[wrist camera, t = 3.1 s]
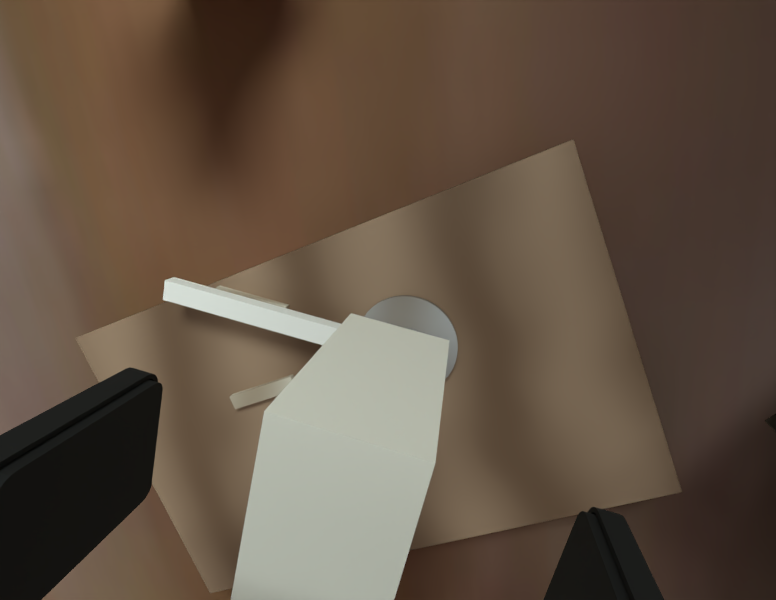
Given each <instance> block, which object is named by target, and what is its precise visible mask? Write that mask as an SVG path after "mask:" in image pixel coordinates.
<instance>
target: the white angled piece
mask: <svg viewBox="0 0 776 600" xmlns="http://www.w3.org/2000/svg"><path fill="white" fill-rule="evenodd" d="M163 300H166V301H169V302H173V303H176V304H180V305H183V306H187V307H190V308H194V309H197V310H201V311H204V312H208V313H211V314H215V315H218V316H222V317H225V318H229V319H232V320H236V321H239V322H243V323H246V324H250V325H253V326H257V327H260V328H264V329H267V330H271V331H274V332H278V333H281V334H285V335H288V336H292V337H295V338H299V339H302V340H306V341H309V342H313V343H317V344H320V345H322V347H321V348H320V349H319V350H318V351H317V352H316V353H315V354H314V356H313V357H312V358H311V359H310V360H309V361H308V362H307V363H306V365H305V366H304V367H303V368H302V369H301V370H300V371H299V372H298V374H297V375H296V376H295V377H294V378H293V379H292V380H291V381H290V383H289V384H288V385H287V386H286V387H285V388H284V389H283V390H282V392H281V393H280V394H279V395H278V396H277V397H276V398H275V399H274V401H273V402H272V403H271V404H270V405H269V406H268V407H267V408H266V410H265V411H264V415H263V421H262V426H261V432H260V438H259V443H258V449H257V454H256V460H255V466H254V471H253V477H252V483H251V488H250V494H249V499H248V505H247V511H246V516H245V522H244V527H243V533H242V539H241V544H240V550H239V556H238V561H237V567H236V572H235V578H234V584H233V589H232V595H231V600H394V599H395V596H396V592H397V589H398V586H399V582H400V579H401V576H402V572H403V569H404V566H405V563H406V559H407V556H408V553H409V549H410V546H411V543H412V539H413V536H414V533H415V529H416V526H417V523H418V519H419V516H420V513H421V509H422V506H423V503H424V499H425V496H426V493H427V489H428V486H429V483H430V480H431V476H432V473H433V470H434V466H435V463H436V454H437V445H438V437H439V428H440V419H441V411H442V402H443V393H444V384H445V376H446V367H447V358H448V349H449V341H450V340H446V339H443V338H439V337H435V336H432V335H428V334H425V333H421V332H417V331H416V330H414V329H411V328H407V327H399V326H396V325H392V324H388V323H385V322H381V321H377V320H374V319H370V318H367V317H363V316H359V315H356V314H352V313H351V314H350V315H349V316H348V317H347V318H346V319H345V321H344V322H343V323H342V324H340V323H337V322H333V321H330V320H326V319H322V318H319V317H315V316H312V315H308V314H304V313H301V312H297V311H294V310H290V309H287V308H283V307H279V306H276V305H272V304H269V303H265V302H261V301H258V300H254V299H251V298H247V297H244V296H240V295H236V294H233V293H229V292H226V291H222V290H218V289H215V288H211V287H208V286H204V285H201V284H197V283H193V282H190V281H186V280H183V279H179V278H175V277H173V278H170V279H167V280H165V285H164V294H163Z"/></svg>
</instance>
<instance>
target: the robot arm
mask: <svg viewBox="0 0 776 600" xmlns="http://www.w3.org/2000/svg"><path fill="white" fill-rule="evenodd" d="M162 392H163V387H162V384H161V383H159V382H158V379H157V376H156V375H155V374H152V373H149V372H145V371H142V370H139V369H135V368H131V367H129V368H126V369H124V370H122V371H120V372H119V373H117V374H115V375H113V376H111V377H109V378H107V379H105V380H104V381H102V382H100V383H98V384H96V385H94V386H92V387H90V388H88V389H87V390H85V391H83V392H81V393H79V394H77V395H75V396H73V397H72V398H70V399H68V400H66V401H64V402H62V403H60V404H58V405H56V406H55V407H53V408H51V409H49V410H47V411H45V412H43V413H41V414H40V415H38V416H36V417H34V418H32V419H30V420H28V421H26V422H24V423H23V424H21V425H19V426H17V427H15V428H13V429H11V430H9V431H8V432H6V433H4V434H2V435H0V600H41V599H42V598H43V597H44V596H45V595H46V594H48V593H49V592H50V591H51V590H52V589H53V588H54V587H55V586H56V585H57V584H58V583H59V582H60V581H61V580H62V579H63V578H64V577H65V576H66V575H67V574H68V573H69V572H70V571H71V570H72V569H73V568H74V567H75V566H76V565H77V564H78V563H80V562H81V561H82V560H83V559H84V558H85V557H86V556H87V555H88V554H89V553H90V552H91V551H92V550H93V549H94V548H95V547H96V546H97V545H98V544H99V543H100V542H101V541H102V540H103V539H104V538H105V537H106V536H107V535H108V534H109V533H110V532H111V531H113V530H114V529H115V528H116V527H117V526H118V525H119V524H120V523H121V522H122V521H123V520H124V519H125V518H126V517H127V516H128V515H129V514H130V513H131V512H132V511H133V510H134V509H135V508H136V507H137V506H138V505H139V504H140V503H141V502H142V501H143V500H144V499H145V498H146V496H147V494H148V493H149V490H150V488H151V484H152V477H153V468H154V460H155V451H156V443H157V434H158V426H159V418H160V409H161V401H162ZM544 600H664V599H663V597H662V594H661V592H660V590H659V588H658V586H657V584H656V582H655V580H654V578H653V576H652V574H651V572H650V570H649V568H648V565H647V563H646V561H645V559H644V557H643V555H642V553H641V551H640V549H639V547H638V545H637V543H636V541H635V539H634V536H633V534H632V532H631V530H630V528H629V526H628V524H627V522H626V520H625V518H624V517H623V516H622V515H620V514H616V513H613V512H610V511H606V510H603V509H600V508H596V507H591V508H590V509H589V510H588V512H585V511H581V512H580V513H579V514H578V516H577V518H576V521H575V523H574V526H573V528H572V531H571V533H570V536H569V538H568V541H567V543H566V546H565V548H564V550H563V553H562V555H561V558H560V560H559V563H558V565H557V568H556V570H555V573H554V575H553V578H552V580H551V583H550V585H549V588H548V590H547V592H546V595H545V597H544Z"/></svg>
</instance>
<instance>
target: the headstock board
mask: <svg viewBox="0 0 776 600" xmlns="http://www.w3.org/2000/svg"><path fill="white" fill-rule="evenodd" d="M207 286H208V287H211V288H215V289H218V290H222V291H226V292H229V293H233V294H236V295H240V296H244V297H247V298H251V299H254V300H258V301H261V302H265V303H269V304H272V305H276V306H279V307H283V308H287V309H290V310H294V311H297V312H301V313H304V314H308V315H312V316H315V317H319V318H322V319H326V320H330V321H333V322H337V323H340V324H342V323H343V322H344V321H345V319H346V318H347V317H348V316H349V315H350V314H351V313H352V314H356V315H359V316H363V317H367V318H370V319H374V320H377V321H381V322H385V323H388V324H392V325H396V326H399V327H407V328H411V329H414V330H416V331H417V332H421V333H425V334H428V335H432V336H435V337H439V338H443V339H446V340H450V341H449V349H448V358H447V367H446V376H445V384H444V393H443V402H442V411H441V419H440V428H439V437H438V445H437V454H436V463H435V466H434V470H433V473H432V476H431V480H430V483H429V486H428V489H427V493H426V496H425V499H424V503H423V506H422V509H421V513H420V516H419V519H418V523H417V526H416V529H415V533H414V536H413V539H412V543H411V546H410V549H409V550H414V549H419V548H423V547H428V546H433V545H437V544H442V543H447V542H451V541H456V540H461V539H466V538H470V537H475V536H480V535H484V534H489V533H494V532H498V531H503V530H508V529H512V528H517V527H522V526H526V525H531V524H536V523H540V522H545V521H550V520H554V519H559V518H564V517H568V516H573V515H578V514H579V513H580V512H581V511H585V512H588V510H589V509H590V508H591V507H596V508H600V509H606V508H610V507H615V506H620V505H624V504H629V503H634V502H638V501H643V500H648V499H652V498H657V497H662V496H667V495H671V494H676V493H681V492H682V490H681V486H680V483H679V480H678V477H677V474H676V470H675V467H674V464H673V461H672V457H671V454H670V451H669V448H668V444H667V441H666V438H665V435H664V431H663V428H662V425H661V422H660V418H659V415H658V412H657V409H656V405H655V402H654V399H653V396H652V392H651V389H650V386H649V383H648V380H647V376H646V373H645V370H644V367H643V363H642V360H641V357H640V354H639V350H638V347H637V344H636V341H635V337H634V334H633V331H632V328H631V324H630V321H629V318H628V315H627V311H626V308H625V305H624V302H623V298H622V295H621V292H620V289H619V286H618V282H617V279H616V276H615V273H614V269H613V266H612V263H611V260H610V256H609V253H608V250H607V247H606V243H605V240H604V237H603V234H602V230H601V227H600V224H599V221H598V217H597V214H596V211H595V208H594V204H593V201H592V198H591V195H590V192H589V188H588V185H587V182H586V179H585V175H584V172H583V169H582V166H581V162H580V159H579V156H578V153H577V149H576V146H575V143H574V140H570V141H568V142H565V143H563V144H560V145H558V146H555V147H553V148H550V149H548V150H545V151H543V152H540V153H538V154H535V155H533V156H530V157H528V158H525V159H523V160H520V161H518V162H515V163H513V164H510V165H508V166H505V167H503V168H500V169H498V170H495V171H493V172H490V173H488V174H485V175H483V176H480V177H478V178H475V179H473V180H470V181H468V182H465V183H463V184H460V185H458V186H455V187H453V188H450V189H448V190H445V191H443V192H440V193H438V194H435V195H433V196H430V197H428V198H425V199H423V200H420V201H417V202H415V203H412V204H410V205H407V206H405V207H402V208H400V209H397V210H395V211H392V212H390V213H387V214H385V215H382V216H380V217H377V218H375V219H372V220H370V221H367V222H365V223H362V224H360V225H357V226H355V227H352V228H350V229H347V230H345V231H342V232H340V233H337V234H335V235H332V236H330V237H327V238H325V239H322V240H320V241H317V242H315V243H312V244H310V245H307V246H305V247H302V248H300V249H297V250H295V251H292V252H290V253H287V254H285V255H282V256H280V257H277V258H275V259H272V260H270V261H267V262H265V263H262V264H260V265H257V266H255V267H252V268H250V269H247V270H245V271H242V272H240V273H237V274H235V275H232V276H230V277H227V278H225V279H222V280H220V281H217V282H215V283H212V284H210V285H207ZM76 340H77V342H78V344H79V346H80V348H81V350H82V352H83V353H84V355H85V357H86V359H87V361H88V363H89V365H90V367H91V369H92V371H93V372H94V374H95V376H96V378H97V380H98V382H99V383H100V382H102V381H104V380H105V379H107V378H109V377H111V376H113V375H115V374H117V373H119V372H120V371H122V370H124V369H126V368H129V367H131V368H135V369H139V370H142V371H145V372H149V373H152V374H155V375H156V376H157V379H158V382H159V383H161V384H162V387H163V392H162V401H161V409H160V418H159V426H158V434H157V443H156V451H155V460H154V468H153V477H152V484H153V486H154V488H155V490H156V492H157V494H158V496H159V497H160V499H161V501H162V503H163V505H164V507H165V509H166V511H167V513H168V514H169V516H170V518H171V520H172V522H173V524H174V526H175V528H176V530H177V532H178V533H179V535H180V537H181V539H182V541H183V543H184V545H185V547H186V549H187V550H188V552H189V554H190V556H191V558H192V560H193V562H194V564H195V566H196V568H197V569H198V571H199V573H200V575H201V577H202V579H203V581H204V583H205V585H206V586H207V588H208V590H209V592H210V593H213V592H218V591H222V590H227V589H232V588H233V584H234V578H235V572H236V567H237V561H238V556H239V550H240V544H241V539H242V533H243V527H244V522H245V516H246V511H247V505H248V499H249V494H250V488H251V483H252V477H253V471H254V466H255V460H256V454H257V449H258V443H259V438H260V432H261V426H262V421H263V415H264V411H265V410H266V408H267V407H268V406H269V405H270V404H271V403H272V402H273V401H274V399H275V398H276V397H277V396H278V395H279V394H280V393H281V392H282V390H283V389H284V388H285V387H286V386H287V385H288V384H289V383H290V381H291V380H292V379H293V378H294V377H295V376H296V375H297V374H298V372H299V371H300V370H301V369H302V368H303V367H304V366H305V365H306V363H307V362H308V361H309V360H310V359H311V358H312V357H313V356H314V354H315V353H316V352H317V351H318V350H319V349H320V348H321V347H322V345H320V344H317V343H313V342H309V341H306V340H302V339H299V338H295V337H292V336H288V335H285V334H281V333H278V332H274V331H271V330H267V329H264V328H260V327H257V326H253V325H250V324H246V323H243V322H239V321H236V320H232V319H229V318H225V317H222V316H218V315H215V314H211V313H208V312H204V311H201V310H197V309H194V308H190V307H187V306H183V305H180V304H176V303H173V302H169V301H167V302H165V303H162V304H160V305H157V306H155V307H152V308H150V309H147V310H145V311H142V312H140V313H137V314H135V315H132V316H130V317H127V318H125V319H122V320H120V321H117V322H115V323H112V324H110V325H107V326H105V327H102V328H100V329H97V330H95V331H92V332H90V333H87V334H85V335H82V336H80V337H77V338H76Z"/></svg>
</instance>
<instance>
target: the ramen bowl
mask: <svg viewBox="0 0 776 600" xmlns="http://www.w3.org/2000/svg"><path fill="white" fill-rule="evenodd" d="M765 422H766V423H767V424H768V425H769V426H770V427H771V428H772V429H773V430H774V431H775V432H776V414H775V415H773V416H771V417H770V418H768V419H767V420H765Z"/></svg>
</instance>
